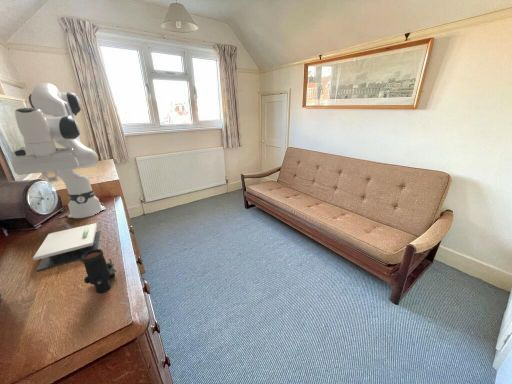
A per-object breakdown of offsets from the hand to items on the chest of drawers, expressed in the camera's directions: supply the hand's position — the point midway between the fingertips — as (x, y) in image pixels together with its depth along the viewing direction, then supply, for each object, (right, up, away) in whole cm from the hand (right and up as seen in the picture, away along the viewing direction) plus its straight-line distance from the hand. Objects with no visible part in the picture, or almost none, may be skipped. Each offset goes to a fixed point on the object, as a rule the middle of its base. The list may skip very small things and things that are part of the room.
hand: (53, 181), depth 93 cm
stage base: (+7, -30, +1) cm, 31 cm away
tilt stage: (+7, -25, 0) cm, 26 cm away
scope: (+37, -37, -21) cm, 56 cm away
